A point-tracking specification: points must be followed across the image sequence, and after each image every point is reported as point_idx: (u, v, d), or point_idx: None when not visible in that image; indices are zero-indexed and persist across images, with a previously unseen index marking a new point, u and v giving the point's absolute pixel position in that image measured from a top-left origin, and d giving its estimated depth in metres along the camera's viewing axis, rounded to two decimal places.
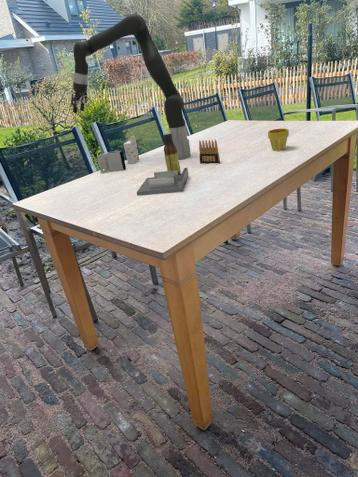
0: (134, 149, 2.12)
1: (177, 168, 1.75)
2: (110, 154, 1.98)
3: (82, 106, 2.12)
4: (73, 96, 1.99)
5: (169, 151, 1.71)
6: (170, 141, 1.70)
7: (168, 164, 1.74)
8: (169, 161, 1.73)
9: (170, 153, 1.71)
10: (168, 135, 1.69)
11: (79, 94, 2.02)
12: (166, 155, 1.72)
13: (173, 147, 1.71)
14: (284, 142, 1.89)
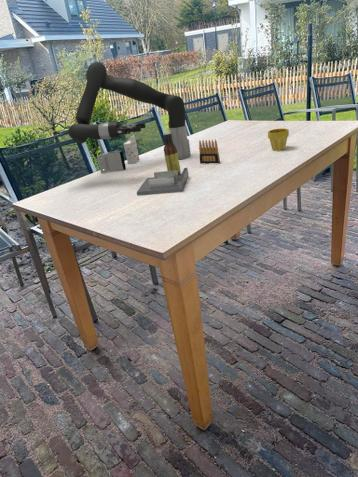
0: (134, 149, 2.12)
1: (177, 168, 1.75)
2: (110, 154, 1.98)
3: (139, 125, 1.74)
4: (119, 132, 1.66)
5: (169, 151, 1.71)
6: (170, 141, 1.70)
7: (168, 164, 1.74)
8: (169, 161, 1.73)
9: (170, 153, 1.71)
10: (168, 135, 1.69)
11: (120, 127, 1.70)
12: (166, 155, 1.72)
13: (173, 147, 1.71)
14: (284, 142, 1.89)
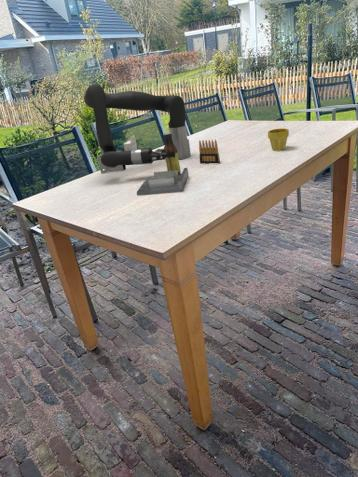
0: (134, 149, 2.12)
1: (177, 168, 1.75)
2: None
3: None
4: (154, 158, 1.70)
5: (169, 151, 1.71)
6: (170, 141, 1.70)
7: (168, 164, 1.74)
8: (169, 161, 1.73)
9: None
10: (168, 135, 1.69)
11: (152, 154, 1.73)
12: None
13: (173, 147, 1.71)
14: (284, 142, 1.89)
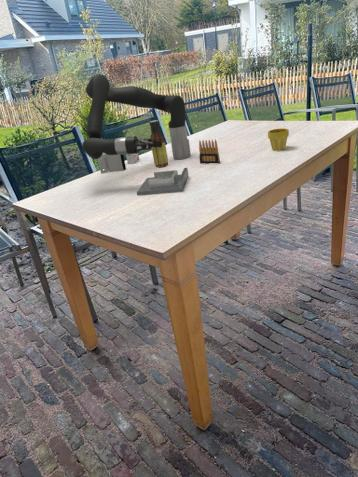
0: None
1: (164, 159, 1.61)
2: None
3: None
4: (139, 147, 1.56)
5: (155, 140, 1.57)
6: (157, 129, 1.57)
7: (154, 154, 1.60)
8: (156, 151, 1.59)
9: None
10: (155, 123, 1.55)
11: (137, 143, 1.59)
12: None
13: (160, 136, 1.57)
14: (284, 142, 1.89)
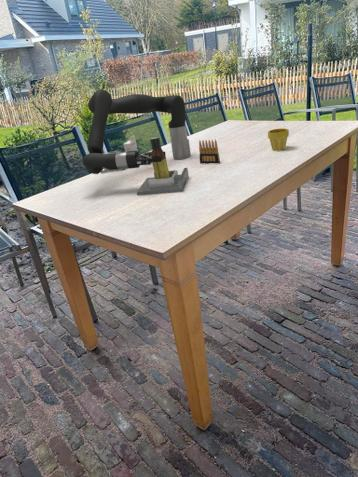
0: (134, 149, 2.12)
1: (166, 175, 1.60)
2: None
3: None
4: (139, 163, 1.55)
5: None
6: (158, 146, 1.56)
7: (156, 171, 1.60)
8: (157, 168, 1.59)
9: None
10: (155, 139, 1.54)
11: (139, 157, 1.58)
12: None
13: (161, 152, 1.57)
14: (284, 142, 1.89)
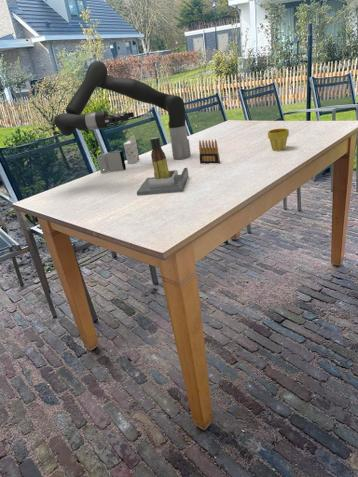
0: (134, 149, 2.12)
1: (166, 175, 1.60)
2: (110, 154, 1.98)
3: (127, 114, 1.69)
4: (107, 121, 1.61)
5: (156, 157, 1.57)
6: (158, 146, 1.56)
7: (156, 171, 1.60)
8: (157, 168, 1.59)
9: (158, 159, 1.57)
10: (155, 139, 1.54)
11: (107, 117, 1.64)
12: (154, 161, 1.58)
13: (161, 152, 1.57)
14: (284, 142, 1.89)
